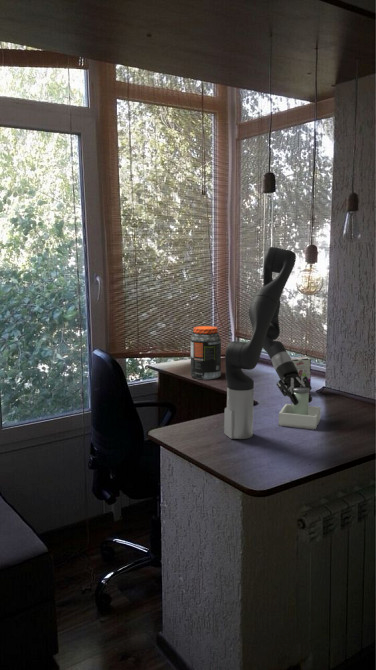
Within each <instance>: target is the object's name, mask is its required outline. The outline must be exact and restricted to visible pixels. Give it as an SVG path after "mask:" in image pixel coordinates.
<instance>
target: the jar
mask: <svg viewBox="0 0 376 670" xmlns="http://www.w3.org/2000/svg"><path fill="white" fill-rule="evenodd" d="M292 389H293V392H294V393H293V394H295V396H296V398H297V400H298V402H299V403H298V404H297V405H294V404H293V403H292V402H291V403H292V414H299V415H308V406H309V404H310V403H309V391H310V392H311V390H310V388H308V387H302V386H299V387H294V388H292Z"/></svg>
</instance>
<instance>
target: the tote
mask: <svg viewBox="0 0 376 670" xmlns="http://www.w3.org/2000/svg"><path fill="white" fill-rule="evenodd" d="M321 410H322V407H321V406H313V405H312V406H310V405H308V415H299V414H292V404H291V403H285V404H284V405H283V407H282V408H281V409H280V411H279V412H278V426H279V427H288V428H297V429H304V430H305V429H306V430H314V429H315V431H316V430H317V428H318V426H317V425H319V423H320V421H321V416H322V415H321V412H322V411H321Z"/></svg>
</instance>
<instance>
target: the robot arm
mask: <svg viewBox="0 0 376 670" xmlns="http://www.w3.org/2000/svg"><path fill="white" fill-rule="evenodd" d="M296 258H297V255H296V253H295V251H293V250H289V249H284V248H282V247H276V246H270V247H269V248H268V249H267V251H266V253H265V255H264V259H263V276H262V278H263V279H262V280H263V281H262V283H263V284H262V285H263V286H262V287H261V288H260V289H258V290H257V291H256V292H255V293H254V295H253V297H252V300H251V302H250V305H249V308H248V317H249V320H250V325H251V328H252V334H251V337H250V339H249V341H248V342H246V341H234V340H233V341H229V343H227V346H226V348H225V353H224V365H225V382H226V407H224V419H223V420H224V422H223V423H224V424H223V425H224V428H223V430H224V432H223V434H224V435H226V436H227V437H228V438H229V439H231V440H232V439H234V440H236V439H237V440H245V439H246V440H247V439H250V438H252V437H253V436H254V435H253V432H254V393H255V392H254V391H255V390H254V389H255V387H254V386H255V383H254V379H253V378H251V377H250V376H248V375H246V374H245V372H243V370H253V369H255V368H256V366H258V363H259V361H260V358H261V354H262V352H263V350H264V351H265V352H266V353H267V355H268V357H269V359H270V361H271V363H272V367H273V368H274V371H275V372H276V373H277V376H278V378H279V380H278V381H277V382H276V386H277V388H278V389H279V391H280V393H281V394H282V395H283V397H289V398H290V401H291V403H293V404H294V405H297V404H298V403H299V402H298V400H297V398H296V396H295V394H293V393H294V392H293V389H292V388H294V387H299V386H300V385H301V386H302V387H308V388H310V391H311V390H312V385H310V383H309V380H308V378H307V377H306V376H305V377H304V378H301V377H300V376H299V375H298V370H297V368H296V367H295V365H294V363H293V361H292V359H291V358H292V357H291V355H289V353H288V352H287V349H286V347H285V346H284V344H283V343H282V342H281V341H279V340H278V339H279V337H280V334H281V330H280V321H279V315H280V308H281V297H282V294H283V291H284V289H285V286H286V284H287V283H288V279H290V276H291V274H292V272H293V269H294V267H295V264H296V261H297V259H296ZM273 273H276V274H277V276H276V277H275V278H274V277H273ZM286 387H287V388H286ZM284 390H285V391H284ZM312 401H313V397H312V395H311V392H310V393H309V404H310V403H311V402H312Z"/></svg>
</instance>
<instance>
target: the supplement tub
mask: <svg viewBox="0 0 376 670" xmlns="http://www.w3.org/2000/svg"><path fill="white" fill-rule="evenodd" d="M218 330H219V329H218V327H217V326H211V325H201V326H200V325H199V326H194V327H193V333H192V335H190V336H191V337H190V340H189V341H190V345H189V347H190V375H191V377H192V378H194V379H199V380H214V379H218V378H219V377H221V376H222V375H221V374H222V339H221V336H220V335H219V331H218Z"/></svg>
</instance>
